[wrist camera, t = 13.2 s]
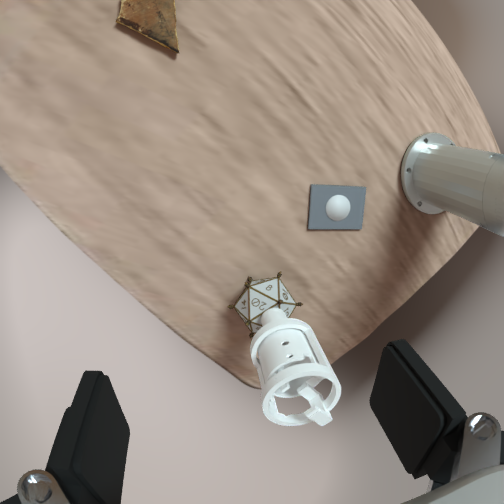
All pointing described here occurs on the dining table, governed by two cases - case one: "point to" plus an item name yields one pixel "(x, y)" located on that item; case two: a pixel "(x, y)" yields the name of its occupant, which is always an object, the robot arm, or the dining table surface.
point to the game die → (263, 301)
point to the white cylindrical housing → (292, 368)
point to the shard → (151, 20)
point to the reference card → (336, 207)
